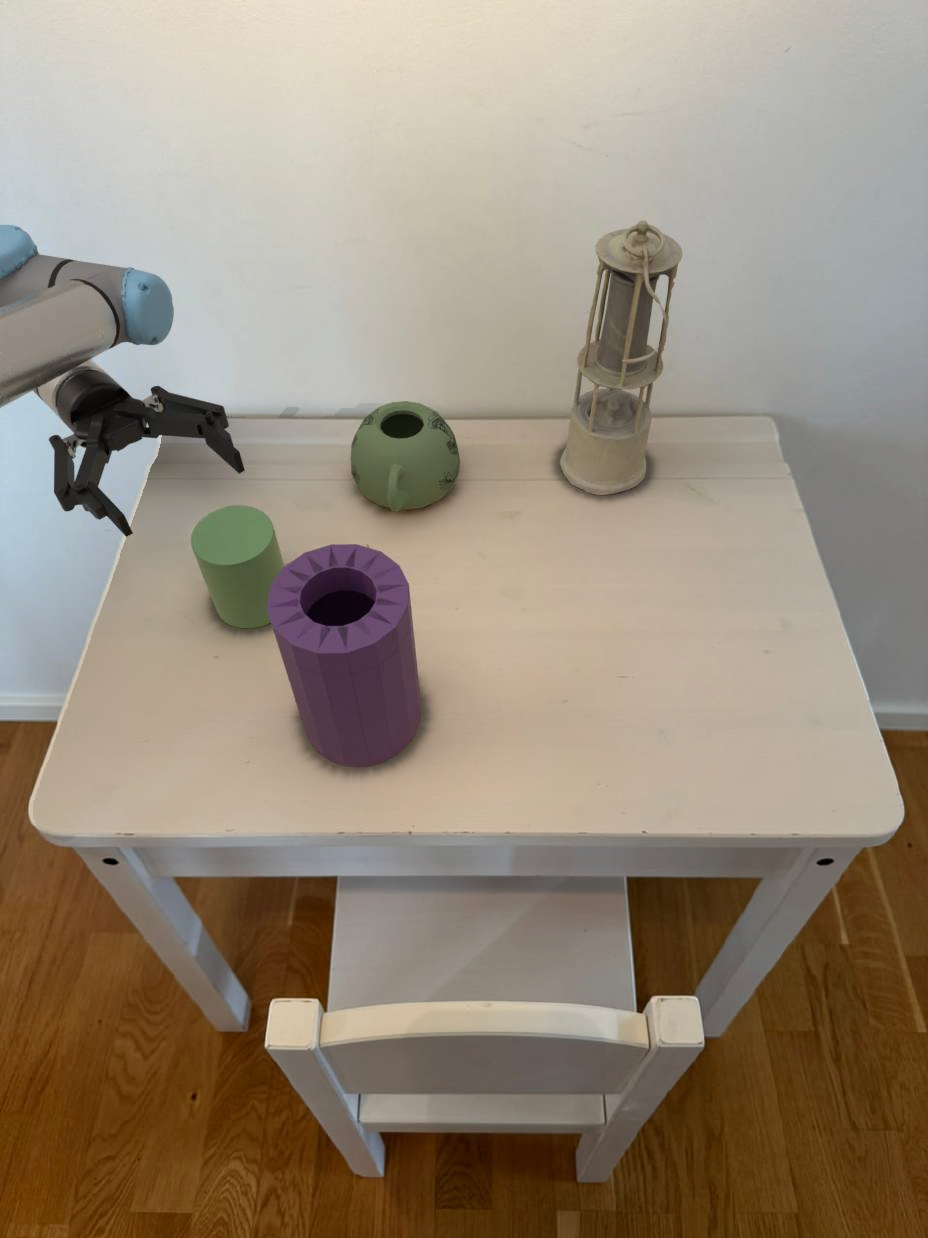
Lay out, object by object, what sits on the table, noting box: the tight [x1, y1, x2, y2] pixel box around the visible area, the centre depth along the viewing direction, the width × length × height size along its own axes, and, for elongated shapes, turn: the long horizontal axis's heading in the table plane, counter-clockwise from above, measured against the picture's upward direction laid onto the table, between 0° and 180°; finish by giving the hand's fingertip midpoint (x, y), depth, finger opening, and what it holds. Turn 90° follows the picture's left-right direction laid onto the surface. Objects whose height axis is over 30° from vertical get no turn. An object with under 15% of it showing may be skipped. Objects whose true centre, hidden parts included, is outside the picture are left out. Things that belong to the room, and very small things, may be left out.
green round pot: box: [350, 400, 461, 512], centre depth 98 cm, size 16×13×9 cm
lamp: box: [559, 220, 683, 496], centre depth 91 cm, size 10×13×30 cm
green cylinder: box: [190, 504, 285, 629], centre depth 88 cm, size 8×8×10 cm
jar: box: [266, 543, 422, 768], centre depth 75 cm, size 11×11×18 cm
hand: (184, 493), depth 89 cm, fingers open, 13 cm apart
